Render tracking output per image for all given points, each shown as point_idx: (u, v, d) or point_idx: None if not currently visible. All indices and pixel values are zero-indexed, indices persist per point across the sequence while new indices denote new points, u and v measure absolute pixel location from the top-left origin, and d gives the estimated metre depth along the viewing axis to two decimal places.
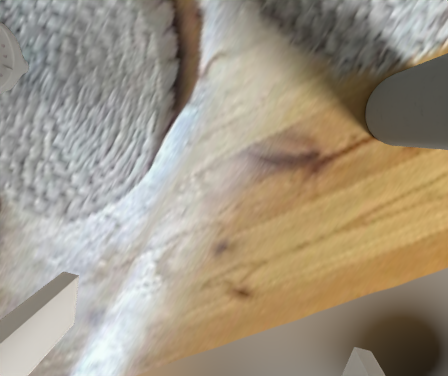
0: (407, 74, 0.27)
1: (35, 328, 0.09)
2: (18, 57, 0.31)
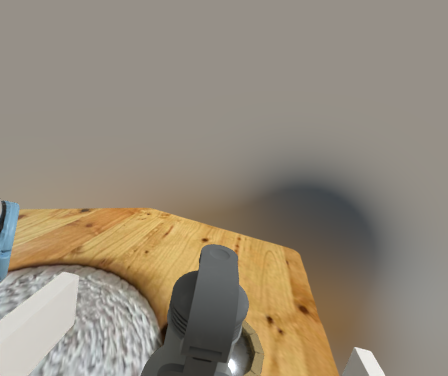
0: None
1: (35, 328, 0.09)
2: None
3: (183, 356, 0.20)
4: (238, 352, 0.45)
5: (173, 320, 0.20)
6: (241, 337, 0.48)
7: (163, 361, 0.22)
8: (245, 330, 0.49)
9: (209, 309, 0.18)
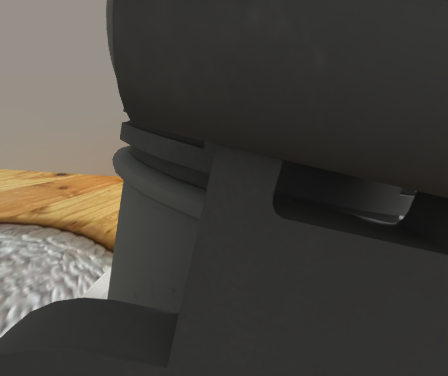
0: None
1: None
2: None
3: (178, 286, 0.04)
4: None
5: None
6: None
7: None
8: None
9: None
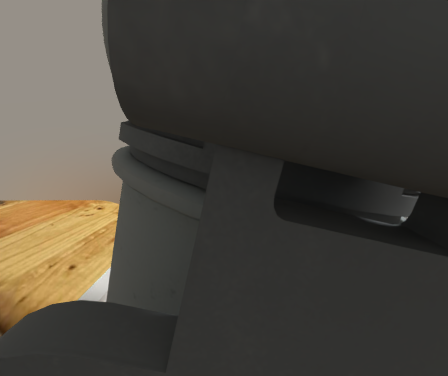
0: None
1: None
2: None
3: (177, 288, 0.04)
4: None
5: None
6: None
7: None
8: None
9: None
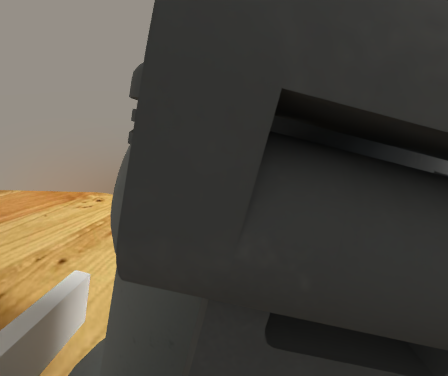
0: None
1: (50, 324, 0.09)
2: None
3: (175, 340, 0.04)
4: None
5: None
6: None
7: (103, 363, 0.06)
8: None
9: None
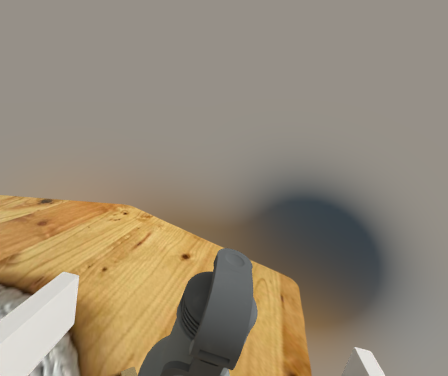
0: None
1: (35, 328, 0.09)
2: None
3: (189, 354, 0.21)
4: None
5: (183, 319, 0.21)
6: None
7: (167, 355, 0.23)
8: None
9: (223, 316, 0.18)
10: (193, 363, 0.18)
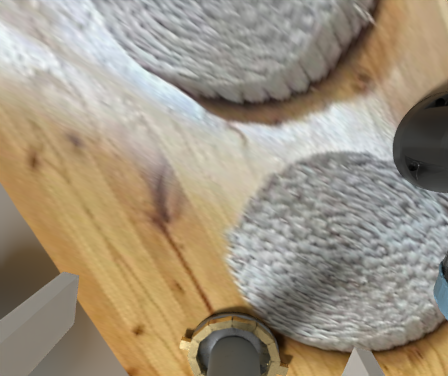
0: (252, 374, 0.41)
1: (35, 328, 0.09)
2: None
3: None
4: None
5: None
6: None
7: None
8: None
9: None
10: None
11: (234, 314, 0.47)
